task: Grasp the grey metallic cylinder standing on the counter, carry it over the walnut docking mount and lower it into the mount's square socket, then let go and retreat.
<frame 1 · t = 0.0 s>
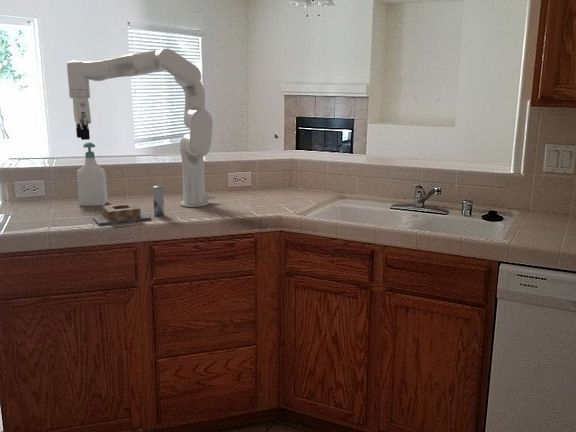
hand: (83, 138, 216), 31 cm above the worktop, fingers open, 9 cm apart
grey metallic cylinder: (159, 215, 224), on the worktop
soap bottle: (94, 203, 245), on the worktop
docking mount: (121, 219, 216), on the worktop
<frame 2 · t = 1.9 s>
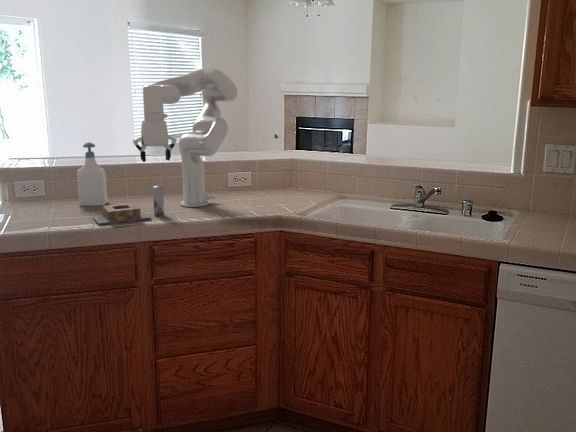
hand: (155, 160, 218), 22 cm above the worktop, fingers open, 9 cm apart
nothing on the worktop moved.
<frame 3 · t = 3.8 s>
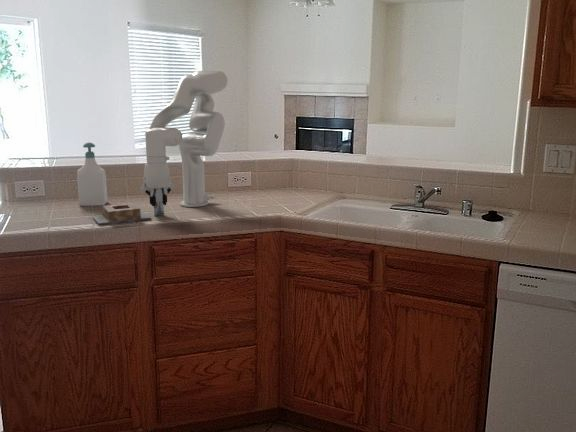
hand: (158, 204, 222), 5 cm above the worktop, fingers closed on grey metallic cylinder, 4 cm apart
grey metallic cylinder: (159, 215, 224), on the worktop, touching gripper
everything else where it was.
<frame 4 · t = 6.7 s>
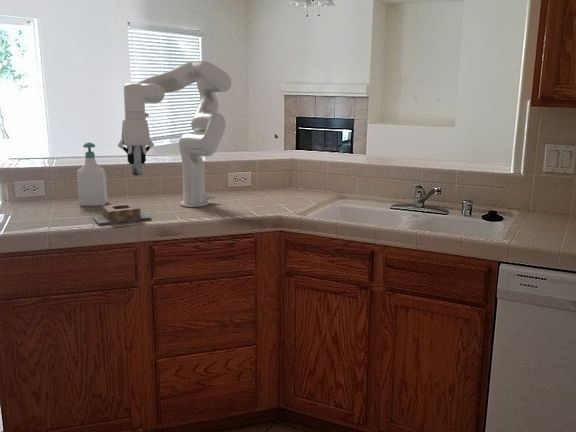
hand: (136, 163, 214), 22 cm above the worktop, fingers closed on grey metallic cylinder, 4 cm apart
grey metallic cylinder: (137, 174, 215), point 17 cm above the worktop, touching gripper
everything else where it was.
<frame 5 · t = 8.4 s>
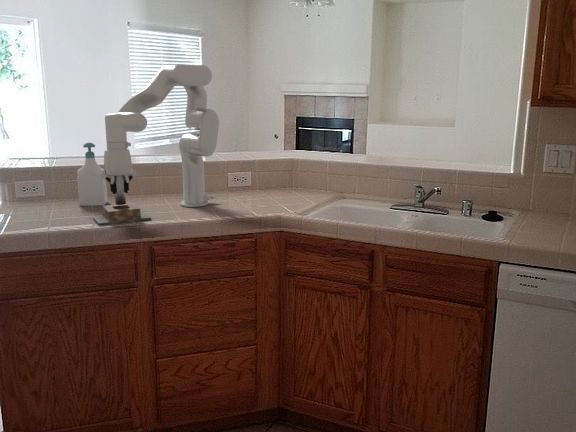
hand: (120, 192, 214), 11 cm above the worktop, fingers closed on grey metallic cylinder, 4 cm apart
grey metallic cylinder: (120, 203, 215), point 6 cm above the worktop, touching gripper
everything else where it was.
when the fingers open (7 cm above the worktop, at t = 9.5 s): grey metallic cylinder drops 1 cm, resting on docking mount.
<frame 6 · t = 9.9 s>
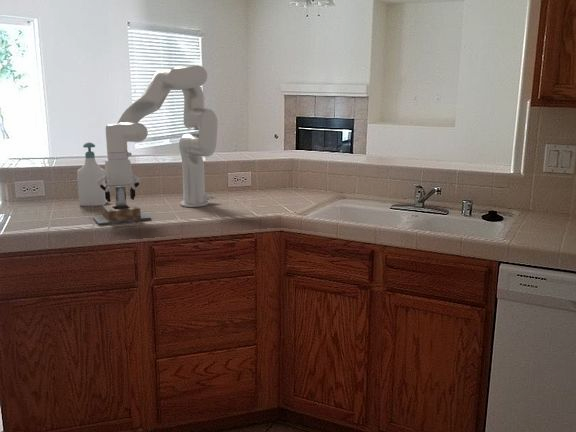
hand: (120, 200, 215), 8 cm above the worktop, fingers open, 8 cm apart
grey metallic cylinder: (122, 216, 216), point 1 cm above the worktop, touching docking mount
everything else where it was.
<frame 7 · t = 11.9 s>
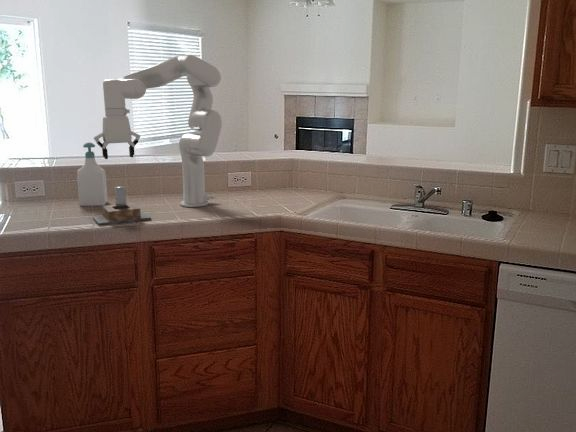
hand: (119, 157, 211), 24 cm above the worktop, fingers open, 9 cm apart
nothing on the worktop moved.
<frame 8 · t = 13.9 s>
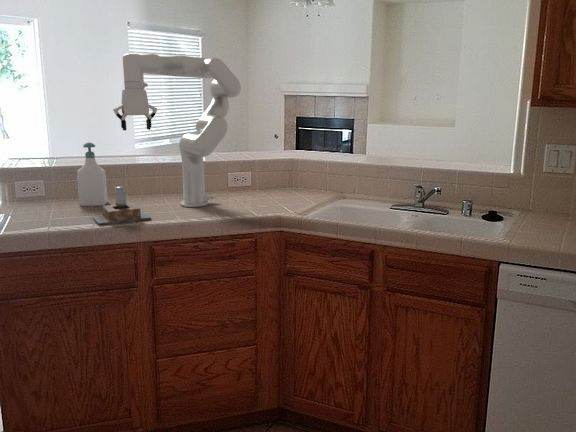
hand: (136, 129, 220), 34 cm above the worktop, fingers open, 9 cm apart
nothing on the worktop moved.
at the end: grey metallic cylinder 0.1 cm off-centre on the docking mount, point 1.0 cm above the docking mount's base; grey metallic cylinder tilted 1°; the gripper is holding nothing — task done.
